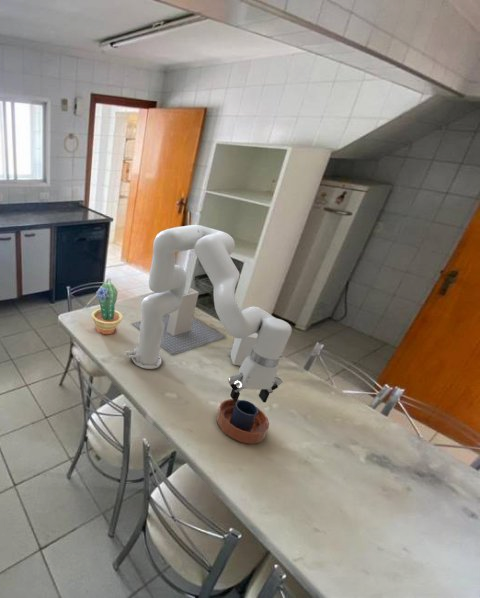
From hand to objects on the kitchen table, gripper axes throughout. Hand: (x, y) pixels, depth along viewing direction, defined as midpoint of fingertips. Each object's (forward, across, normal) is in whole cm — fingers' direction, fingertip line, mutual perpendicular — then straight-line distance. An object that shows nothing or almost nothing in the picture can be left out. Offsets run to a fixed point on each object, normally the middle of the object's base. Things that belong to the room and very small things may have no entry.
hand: (247, 399), depth 107 cm
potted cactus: (+14, +38, -60) cm, 73 cm away
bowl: (+12, 0, +1) cm, 12 cm away
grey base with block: (+13, +2, -60) cm, 62 cm away
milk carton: (+12, -18, -35) cm, 42 cm away
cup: (+11, 0, +1) cm, 11 cm away
